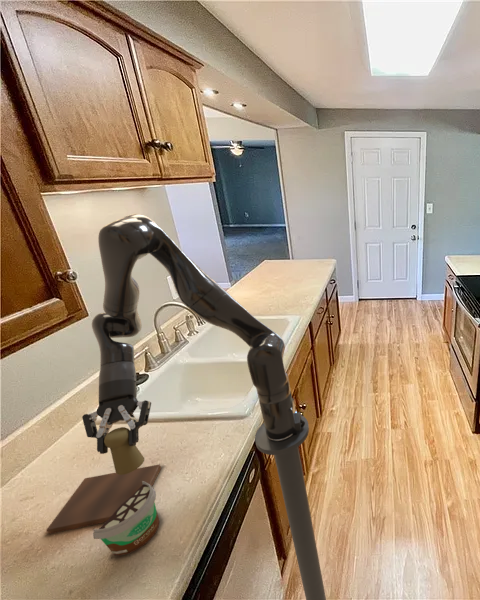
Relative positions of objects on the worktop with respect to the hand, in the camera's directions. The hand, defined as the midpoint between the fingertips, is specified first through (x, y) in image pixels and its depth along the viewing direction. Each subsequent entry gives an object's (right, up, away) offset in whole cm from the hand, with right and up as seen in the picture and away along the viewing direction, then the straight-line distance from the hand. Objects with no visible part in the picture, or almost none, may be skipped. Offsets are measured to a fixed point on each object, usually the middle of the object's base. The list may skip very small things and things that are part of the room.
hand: (118, 449), depth 81 cm
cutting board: (-5, -14, +3) cm, 15 cm away
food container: (+11, -17, -6) cm, 22 cm away
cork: (-1, -6, +4) cm, 8 cm away
